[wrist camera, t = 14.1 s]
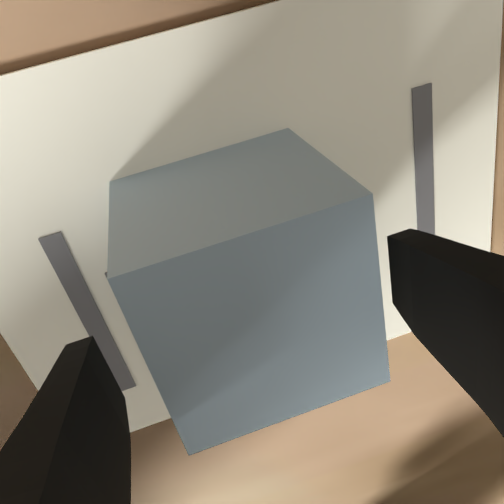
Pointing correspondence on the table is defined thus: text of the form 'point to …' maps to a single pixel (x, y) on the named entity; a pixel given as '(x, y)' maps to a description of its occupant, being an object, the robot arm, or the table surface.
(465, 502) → the table surface
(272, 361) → the cube
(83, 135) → the letter
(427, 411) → the table surface
